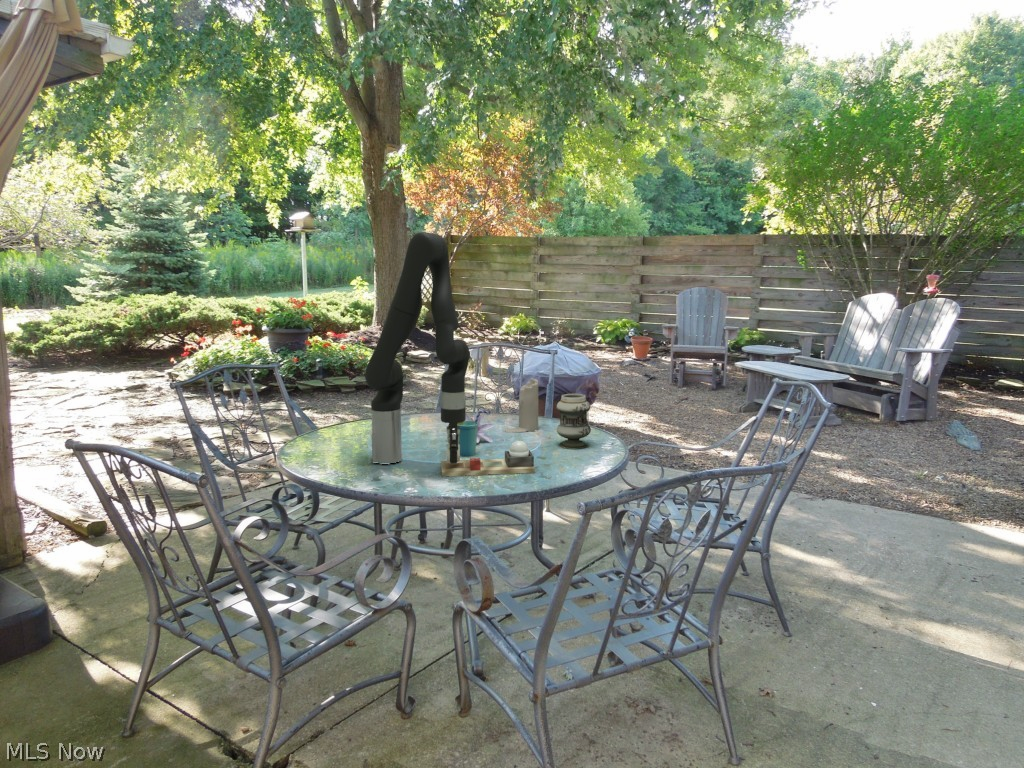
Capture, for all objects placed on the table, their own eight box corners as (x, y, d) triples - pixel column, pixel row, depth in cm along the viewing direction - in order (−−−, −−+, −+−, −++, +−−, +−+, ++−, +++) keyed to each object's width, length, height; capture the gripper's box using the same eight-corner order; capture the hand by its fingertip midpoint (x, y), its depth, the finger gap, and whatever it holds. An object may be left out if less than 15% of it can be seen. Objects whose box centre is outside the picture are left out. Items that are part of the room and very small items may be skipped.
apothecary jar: (561, 440, 242) (561, 391, 239) (593, 442, 238) (594, 393, 235) (552, 448, 231) (552, 397, 228) (586, 450, 227) (587, 399, 224)
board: (442, 476, 198) (441, 461, 197) (441, 465, 209) (440, 451, 209) (534, 473, 201) (534, 458, 200) (528, 462, 213) (528, 448, 212)
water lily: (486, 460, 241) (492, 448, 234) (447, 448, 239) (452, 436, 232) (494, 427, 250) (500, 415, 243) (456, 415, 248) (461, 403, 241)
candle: (501, 429, 259) (500, 378, 256) (534, 427, 263) (534, 377, 260) (506, 433, 253) (506, 381, 249) (540, 431, 257) (541, 379, 253)
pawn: (446, 462, 201) (446, 437, 200) (446, 459, 205) (446, 434, 204) (460, 462, 202) (460, 437, 200) (459, 458, 206) (459, 434, 204)
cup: (489, 450, 228) (489, 407, 225) (492, 456, 220) (491, 412, 218) (448, 452, 226) (447, 408, 223) (450, 458, 218) (449, 413, 216)
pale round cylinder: (510, 462, 203) (510, 443, 202) (508, 457, 209) (508, 439, 208) (530, 461, 204) (530, 443, 203) (527, 456, 209) (527, 438, 208)
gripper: (466, 410, 194) (466, 467, 197) (464, 401, 208) (464, 454, 211) (441, 410, 193) (441, 467, 196) (440, 401, 207) (440, 454, 210)
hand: (453, 460), depth 204 cm, fingers closed on pawn, 4 cm apart
